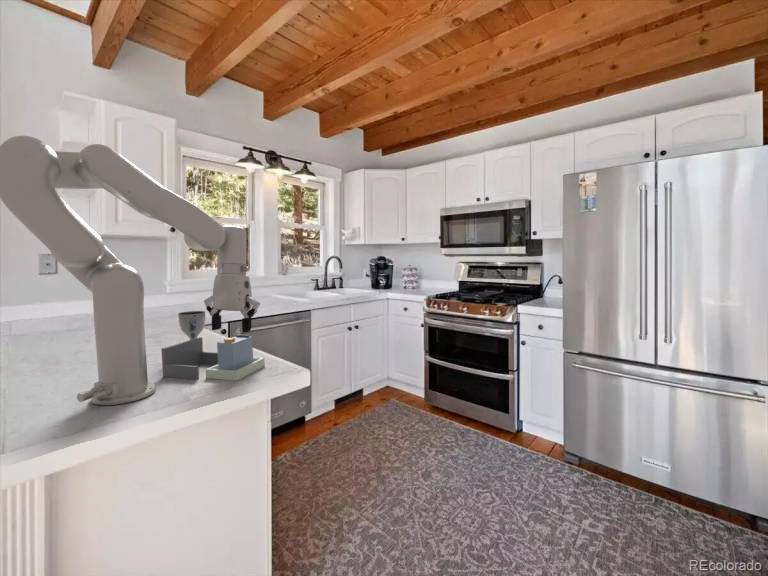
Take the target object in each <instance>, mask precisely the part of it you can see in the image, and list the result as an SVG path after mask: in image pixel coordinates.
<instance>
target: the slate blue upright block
mask: <svg viewBox="0 0 768 576" xmlns="http://www.w3.org/2000/svg"><path fill="white" fill-rule="evenodd" d="M216 344H217V345H216V347H217V349H216V351H217V352H218V369H222V370H238V369H240V368H242V367H244V366H246V365H248V364H250V363H252V362H253V357H254V347H253V346H254V345H253V344H254V343H253V336H250V334H238V333H237V334H236V335H235V336H233V337H227V338H224V339H223V340H222V341H218V342H217V343H216Z"/></svg>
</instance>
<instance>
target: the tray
mask: <svg viewBox="0 0 768 576" xmlns="http://www.w3.org/2000/svg"><path fill="white" fill-rule="evenodd" d="M265 362H266V361H265V357H255V356H253V362H252V363H250V364H248V365H246V366H244V367H242V368H240V369H238V370H222V369H218V364H214V365H213V366H211V367H208V368H206V369H205V378H206V379H211V380H212V379H213V380H226V381H233V382H234V381H237V382H238V381H239V380H241V379H243V378H245V377H246V376H249V375H251V374H252V373H255V372H256V371H258V370H260V369H262V368H264V367H266V366H265V365H266V363H265Z"/></svg>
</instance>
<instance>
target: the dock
mask: <svg viewBox="0 0 768 576" xmlns="http://www.w3.org/2000/svg"><path fill="white" fill-rule="evenodd" d="M203 343H204V342H203V337H197V338H196V339H192V340H190V339H189V340H185V341H183V342H179V343H176V344H173V345H169V346H166V347H162V348H161V364H162V365H161V366H162V367H161V368H162V377H163V378H171V379H187V380H199V379H200V376H199V375H200V374H199V373H200V372H199V366H198V365H201V364H208V365H211V364H212V365H217V364H218V351H217V352H216V351H215V352H214V351H204V348H203V347H204V346H203Z"/></svg>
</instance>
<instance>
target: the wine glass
mask: <svg viewBox="0 0 768 576" xmlns="http://www.w3.org/2000/svg"><path fill="white" fill-rule="evenodd" d="M177 316H178V317H177V318H178V323H179V327H180V331H182V333H183V334H185V336H187V337H188V339H189V340H192V339H196V338H199V337H198V336H199V335H200V334H201V333H202V332H203V330H204V328H205V325H206V311H204V310H192V311H184V312H183V311H182V312H178V313H177Z"/></svg>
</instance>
